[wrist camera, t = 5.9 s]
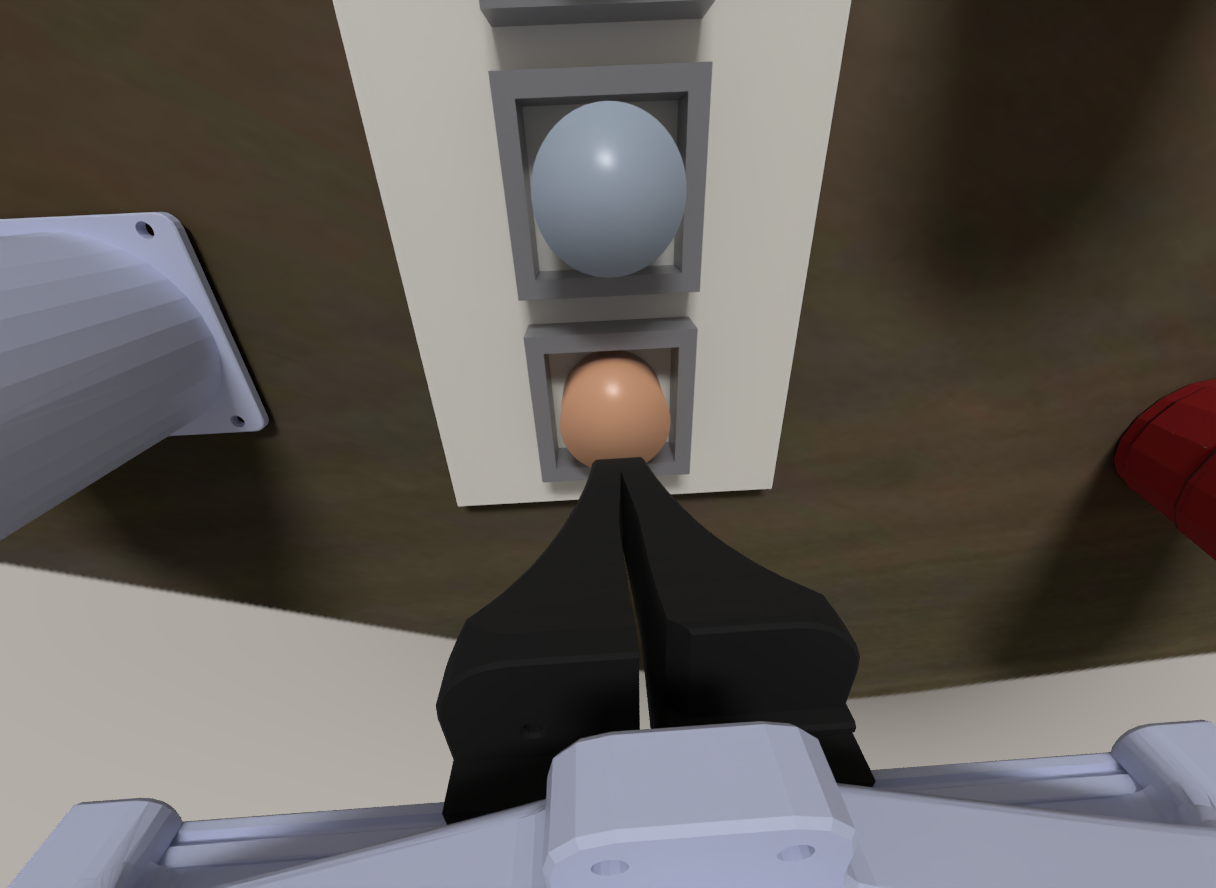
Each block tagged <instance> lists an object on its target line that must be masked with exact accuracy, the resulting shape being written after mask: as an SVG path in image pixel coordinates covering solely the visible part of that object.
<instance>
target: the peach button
mask: <svg viewBox="0 0 1216 888" xmlns="http://www.w3.org/2000/svg"><path fill="white" fill-rule="evenodd" d="M670 423H671V421H670V412H669V408H668V405H667V403H666V400H665V397H664V394H663V391H662V389H661V386H660V383H659V380H658V377H657V375H656V374H655V372H654V370H653V369H652V367H651V366H650V365H649V364H648V363H647V362H646V361H644V360H643V359H642V358H640V357H639V356H637V355H635V354H633V353H630V352H627V351H622V350H616V351H599V352H596V353H593V354H591V355H589V356H587V357H585V358H584V359H582V360H581V361H579V362H578V363H577V364H576V365H575V366H574V367H573V369H572V370H571V371H570V373H569V375H568V376H567V379H566V381H565V384H564V388H563V397H562V406H561V416H560V432H561V436H562V439H563V442H564V444H565V446H566V447H567V449H568V450H569V452H570V453H571V454H572V455H573V456H574V457H575V458H576V459H577V460H578V461H580V462H581V463H583V464H584V465H586V466H588V467H590V468H591V467H592V463H593V462H594V461H595V460H599V459H616V458H633V457H642V458H643V459H644V460H645V461H646V463H647V462H648V461H650V460H651V459H652V458H653V457H654V456H655V455H656V454H657V453H658V452H659V451H660V450H661V448H662V447H663V445H664V444H665V442H666V440H667V437H668V435H669V431H670Z"/></svg>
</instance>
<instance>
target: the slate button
mask: <svg viewBox="0 0 1216 888" xmlns="http://www.w3.org/2000/svg"><path fill="white" fill-rule="evenodd" d="M686 194H687V187H686V175H685V169H684V165H683V161H682V157H681V155H680V152H679V150H678V147H677V146H676V144H675V142H674V140H673V138H672V137H671V135H670V134H669V133H668V131H667V130H666V128H665V127H664V126H663V125H662V124H661V123H660V122H659V121H658V120H657V119H656V118H654V117H653V116H652V115H650V114H649V113H648V112H646V111H644V110H642V109H641V108H639V107H636V106H634V105H631V104H628V103H624V102H619V101H600V102H594V103H590V104H587V105H584V106H581V107H579V108H577V109H575V110H573V111H572V112H570V113H569V114H567V115H566V116H564V117H563V118H562V119H561V120H560V121H559V122H558V123H557V124H556V125H555V126H554V127H553V128H552V130H551V131H550V132H549V133H548V135H547V136H546V138H545V140H544V141H543V143H542V145H541V147H540V149H539V151H538V153H537V156H536V160H535V163H534V166H533V172H532V178H531V201H532V207H533V212H534V216H535V219H536V223H537V225H538V227H539V230H540V232H541V234H542V236H543V238H544V239H545V241H546V243H547V244H548V245H549V247H550V248H551V249H552V251H553V252H554V253H555V254H556V255H557V256H558V257H559V258H560V259H561V260H563V261H564V262H565V263H566V264H568V265H569V266H571V267H572V268H574V269H576V270H578V271H580V272H582V273H585V274H588V275H592V276H596V277H605V278H613V277H621V276H625V275H629V274H632V273H635V272H637V271H639V270H641V269H643V268H645V267H646V266H648V265H649V264H651V263H652V262H653V261H655V260H656V259H657V258H658V257H659V256H660V255H661V254H662V253H663V252H664V251H665V250H666V248H667V247H668V246H669V244H670V243H671V241H672V240H673V238H674V236H675V235H676V232H677V230H678V228H679V226H680V223H681V220H682V217H683V214H684V209H685V204H686Z"/></svg>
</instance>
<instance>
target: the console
mask: <svg viewBox="0 0 1216 888" xmlns="http://www.w3.org/2000/svg"><path fill="white" fill-rule="evenodd" d="M333 4H334V8H335V12H336V16H337V20H338V24H339V28H340V32H341V36H342V40H343V44H344V48H345V52H346V56H347V60H348V64H349V68H350V72H351V76H352V81H353V85H354V89H355V93H356V97H357V101H358V105H359V109H360V113H361V117H362V121H363V125H364V129H365V133H366V137H367V141H368V145H369V149H370V153H371V157H372V161H373V165H374V169H375V173H376V177H377V181H378V185H379V189H380V193H381V198H382V202H383V206H384V210H385V214H386V218H387V222H388V226H389V230H390V234H391V238H392V242H393V246H394V250H395V254H396V258H397V262H398V266H399V270H400V274H401V278H402V282H403V286H404V290H405V294H406V298H407V302H408V306H409V310H410V315H411V319H412V323H413V327H414V331H415V335H416V339H417V343H418V347H419V351H420V355H421V359H422V363H423V367H424V371H425V375H426V379H427V383H428V387H429V391H430V395H431V399H432V403H433V407H434V411H435V415H436V419H437V423H438V427H439V432H440V436H441V440H442V444H443V448H444V452H445V456H446V460H447V464H448V468H449V472H450V476H451V480H452V484H453V488H454V492H455V496H456V500H457V504H458V506H473V505H491V504H509V503H526V502H544V501H562V500H579V498H580V496H581V494H582V492H583V490H584V487H585V485H586V482H587V480H588V477H589V474H590V471H591V468H590V467H588V466H586V465H584V464H583V463H581V462H580V461H578V460H577V459H576V458H575V457H574V456H573V455H572V454H571V453H570V452H569V450H568V449H567V447H566V446H565V444H564V442H563V439H562V436H561V432H560V416H561V406H562V397H563V388H564V384H565V381H566V379H567V376H568V375H569V373H570V371H571V370H572V369H573V367H574V366H575V365H576V364H577V363H578V362H579V361H581V360H582V359H584V358H585V357H587V356H589V355H591V354H593V353H596V352H599V351H616V350H622V351H627V352H630V353H633V354H635V355H637V356H639V357H640V358H642V359H643V360H644V361H646V362H647V363H648V364H649V365H650V366H651V367H652V369H653V370H654V372H655V374H656V375H657V377H658V380H659V383H660V386H661V389H662V391H663V394H664V397H665V400H666V403H667V405H668V408H669V412H670V421H671V423H670V431H669V435H668V437H667V440H666V442H665V444H664V445H663V447H662V448H661V450H660V451H659V452H658V453H657V454H656V455H655V456H654V457H653V458H652V459H651V460H650V461H648V462H647V465H648V466H649V468H650V469H651V470H652V472H653V473H654V475H655V476H656V477H657V479H658V480H659V481H660V482H661V484H662V485H663V486H664V487H665V488H666V490H667V491H668V492H669V493H670V494H685V493H703V492H721V491H738V490H756V489H772V483H773V477H774V471H775V465H776V459H777V453H778V447H779V440H780V434H781V428H782V422H783V416H784V410H785V404H786V398H787V391H788V385H789V379H790V373H791V367H792V361H793V355H794V348H795V342H796V336H797V330H798V324H799V318H800V312H801V306H802V299H803V293H804V287H805V281H806V275H807V269H808V263H809V256H810V250H811V244H812V238H813V232H814V226H815V220H816V214H817V207H818V201H819V195H820V189H821V183H822V177H823V171H824V164H825V158H826V152H827V146H828V140H829V134H830V128H831V122H832V115H833V109H834V103H835V97H836V91H837V85H838V79H839V72H840V66H841V60H842V54H843V48H844V42H845V36H846V29H847V23H848V17H849V11H850V5H851V0H333ZM600 101H619V102H624V103H628V104H631V105H634V106H636V107H639V108H641V109H642V110H644V111H646V112H648V113H649V114H650V115H652V116H653V117H654V118H656V119H657V120H658V121H659V122H660V123H661V124H662V125H663V126H664V127H665V128H666V130H667V131H668V133H669V134H670V135H671V137H672V138H673V140H674V142H675V144H676V146H677V147H678V150H679V152H680V155H681V157H682V161H683V165H684V169H685V175H686V187H687V194H686V204H685V209H684V214H683V217H682V220H681V223H680V226H679V228H678V230H677V232H676V235H675V236H674V238H673V240H672V241H671V243H670V244H669V246H668V247H667V248H666V250H665V251H664V252H663V253H662V254H661V255H660V256H659V257H658V258H657V259H656V260H655V261H653V262H652V263H651V264H649V265H648V266H646V267H645V268H643V269H641V270H639V271H637V272H635V273H632V274H629V275H625V276H621V277H613V278H605V277H596V276H592V275H588V274H585V273H582V272H580V271H578V270H576V269H574V268H572V267H571V266H569V265H568V264H566V263H565V262H564V261H563V260H561V259H560V258H559V257H558V256H557V255H556V254H555V253H554V252H553V251H552V249H551V248H550V247H549V245H548V244H547V243H546V241H545V239H544V238H543V236H542V234H541V232H540V230H539V227H538V225H537V223H536V219H535V216H534V212H533V207H532V201H531V178H532V172H533V166H534V163H535V160H536V156H537V153H538V151H539V149H540V147H541V145H542V143H543V141H544V140H545V138H546V136H547V135H548V133H549V132H550V131H551V130H552V128H553V127H554V126H555V125H556V124H557V123H558V122H559V121H560V120H561V119H562V118H563V117H564V116H566V115H567V114H569V113H570V112H572V111H573V110H575V109H577V108H579V107H581V106H584V105H587V104H590V103H594V102H600Z"/></svg>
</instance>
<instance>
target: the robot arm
mask: <svg viewBox="0 0 1216 888" xmlns="http://www.w3.org/2000/svg"><path fill="white" fill-rule="evenodd" d="M146 223H147V224H149V225H150V226H151V228H152V229H153V231H154V236H152V235H151V234H149V232H148V231H147V230H146V226H145V225H146ZM237 416H239V417H241V418H242V419H243V420H244V422H245V423H244V422H241V421H240V420H239V419H238V418H237ZM268 422H269V419H268V415H267V413H266V411H265V409H264V406H263V404H262V402H261V400H260V397H259V395H258V393H257V391H256V388H255V386H254V384H253V382H252V379H251V377H250V375H249V373H248V371H247V368H246V366H245V364H244V362H243V359H242V357H241V355H240V353H239V350H238V348H237V346H236V344H235V341H234V339H233V337H232V335H231V332H230V330H229V328H228V326H227V323H226V321H225V319H224V317H223V314H222V312H221V310H220V308H219V306H218V303H217V301H216V299H215V297H214V294H213V292H212V290H211V288H210V285H209V283H208V281H207V279H206V276H205V274H204V272H203V270H202V267H201V265H200V263H199V261H198V258H197V256H196V254H195V252H194V249H193V247H192V245H191V243H190V241H189V238H188V236H187V234H186V232H185V229H184V227H183V226H182V224H181V223H180V221H179V220H178V219H177V218H175V217H174V216H173V215H171V214H169V213H165V212H146V213H124V214H103V215H81V216H60V217H38V218H16V219H0V540H2V539H3V538H5V537H7V536H8V535H10V534H11V533H13V532H15V531H16V530H18V529H19V528H21V527H23V526H24V525H26V524H28V523H29V522H31V521H32V520H34V519H36V518H37V517H39V516H40V515H42V514H44V513H45V512H47V511H48V510H50V509H52V508H53V507H55V506H57V505H58V504H60V503H61V502H63V501H65V500H66V499H68V498H69V497H71V496H73V495H74V494H76V493H78V492H79V491H81V490H82V489H84V488H86V487H87V486H89V485H90V484H92V483H94V482H95V481H97V480H98V479H100V478H102V477H103V476H105V475H107V474H108V473H110V472H111V471H113V470H115V469H116V468H118V467H119V466H121V465H123V464H124V463H126V462H127V461H129V460H131V459H132V458H134V457H136V456H137V455H139V454H140V453H142V452H144V451H145V450H147V449H148V448H150V447H152V446H153V445H155V444H157V443H158V442H160V441H161V440H163V439H165V438H166V437H168V436H178V435H196V434H215V433H234V432H252V431H259V430H261V429H263V428H264V427H265V426H266V425H267V424H268ZM623 551H624V556H625V561H626V566H627V570H628V575H629V580H630V585H631V589H632V594H633V599H634V603H635V608H636V613H637V618H638V623H639V629H640V635H641V643H642V652H643V661H644V670H645V678H646V679H645V680H646V689H647V698H648V708H649V717H650V727H651V729H644V730H640V721H639V720H640V718H639V717H640V716H639V653H638V644H637V636H636V627H635V621H634V616H633V611H632V606H631V600H630V595H629V589H628V583H627V576H626V570H625V564H624V557H623ZM859 660H860V655H859V652H858V648H857V645H856V643H855V641H854V640H853V638H852V636H851V635H850V633H849V631H848V629H847V628H846V626H845V625H844V623H843V622H842V620H841V619H840V617H839V616H838V614H837V613H836V611H835V610H834V609H833V608H832V606H831V605H830V604H829V602H828V601H827V600H826V598H825V597H824V595H822V594H820V593H818V592H815V591H813V590H811V589H809V588H806V587H804V586H802V585H799V584H797V583H795V582H793V581H790V580H788V579H786V578H784V577H781V576H779V575H778V574H776V573H774V572H772V571H770V570H768V569H766V568H764V567H762V566H760V565H759V564H757V563H755V562H753V561H752V560H750V559H748V558H747V557H745V556H743V555H742V554H740V553H739V552H737V551H736V550H734V549H733V548H731V547H730V546H728V545H727V544H725V543H724V542H722V541H721V540H719V539H718V538H717V537H715V536H714V535H713V534H712V533H710V532H709V531H708V530H707V529H705V528H704V527H703V526H702V525H701V524H700V523H698V522H697V521H696V520H695V519H694V518H693V517H692V516H691V515H690V514H689V513H688V512H687V511H686V510H685V509H684V508H683V507H682V506H681V505H680V504H679V503H678V502H677V501H676V500H675V499H674V498H673V496H672V495H671V494H670V493H669V492H668V491H667V490H666V488H665V487H664V486H663V485H662V484H661V482H660V481H659V480H658V479H657V477H656V476H655V475H654V473H653V472H652V470H651V469H650V468H649V466H648V465H647V463H646V461H645V460H644V459H643V458H642V457H633V458H616V459H599V460H595V461H594V462H593V463H592V467H591V471H590V474H589V477H588V480H587V482H586V485H585V487H584V490H583V492H582V494H581V496H580V498H579V500H578V502H577V504H576V506H575V508H574V509H573V511H572V513H571V514H570V516H569V518H568V519H567V521H566V523H565V524H564V526H563V527H562V529H561V530H560V532H559V533H558V535H557V536H556V537H555V539H554V540H553V541H552V543H551V544H550V545H549V546H548V548H547V549H546V550H545V551H544V552H543V554H542V555H541V556H540V557H539V558H538V559H537V560H536V562H535V563H534V564H533V565H532V566H531V567H530V568H529V569H528V570H527V571H526V572H525V573H524V574H523V575H522V576H521V577H520V578H519V579H518V580H517V581H516V582H514V583H513V584H512V585H511V586H510V587H509V588H508V589H507V590H506V591H505V592H504V593H502V594H501V595H500V596H499V597H497V598H496V599H495V600H493V601H492V602H491V603H489V604H488V605H487V606H485V607H484V608H482V609H481V610H480V611H478V612H477V613H476V614H474V615H473V616H471V617H470V618H468V619H467V620H466V622H465V624H464V626H463V628H462V630H461V632H460V634H459V636H458V639H457V641H456V643H455V646H454V648H453V651H452V653H451V655H450V658H449V660H448V663H447V666H446V669H445V673H444V677H443V680H442V684H441V688H440V692H439V696H438V700H437V703H436V710H437V716H438V720H439V722H440V725H441V728H442V731H443V733H444V736H445V738H446V741H447V744H448V746H449V749H450V751H451V754H452V757H453V759H454V761H453V766H452V770H451V775H450V779H449V784H448V789H447V793H446V797H445V802H440V803H427V804H414V805H399V806H386V807H373V808H361V809H360V808H359V809H347V810H333V811H319V812H306V813H293V814H279V815H267V816H252V817H240V818H226V819H212V820H199V821H186V822H182V820H181V817H180V816H179V814H178V813H177V812H176V810H174V808H172V807H171V806H170V805H168V804H167V803H165V802H163V801H159V800H156V799H151V798H134V799H120V800H108V801H107V800H106V801H93V802H82V803H79V804H77V805H74V806H73V807H72V808H71V809H70V811H69V812H68V813H67V814H66V815H65V817H64V818H63V819H62V820H61V822H60V823H59V824H58V825H57V826H56V828H55V829H54V830H53V832H52V833H51V834H50V835H49V836H48V838H47V839H46V840H45V841H44V843H43V844H42V845H41V846H40V848H39V849H38V850H37V851H36V853H35V854H34V855H33V856H32V857H31V859H30V860H29V861H28V862H27V864H26V865H25V866H24V867H23V869H22V870H21V871H20V872H19V873H18V875H17V876H16V877H15V879H14V880H13V881H12V882H11V883H10V885H9V886H8V887H7V888H1216V726H1215V725H1214V724H1213V723H1212V722H1209V721H1205V720H1196V721H1195V720H1194V721H1181V722H1168V723H1154V724H1146V725H1141V726H1137V727H1135V728H1133V729H1130V730H1128V731H1127V732H1125V733H1124V734H1123V735H1122V736H1121V737H1120V738H1119V739H1118V740H1117V741H1116V742H1115V744H1114V745H1113V747H1112V750H1111V752H1108V753H1095V754H1081V755H1070V756H1069V755H1068V756H1055V757H1041V758H1028V759H1014V760H1001V761H988V762H975V763H961V764H948V765H935V766H921V767H909V768H908V767H907V768H894V769H881V770H870V768H869V766H868V764H867V762H866V760H865V758H864V756H863V754H862V752H861V749H860V747H859V745H858V743H857V741H856V739H855V737H854V735H853V733H852V732H855V729H856V725H855V721H854V719H853V717H852V715H851V713H850V711H849V709H848V707H847V705H846V701H847V699H848V696H849V693H850V690H851V687H852V685H853V682H854V679H855V676H856V673H857V671H858V666H859Z"/></svg>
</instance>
